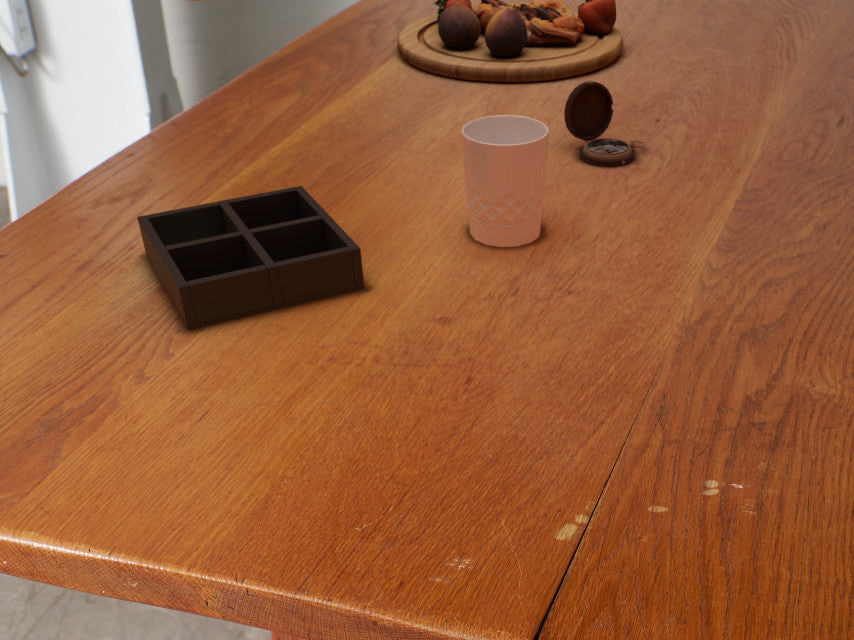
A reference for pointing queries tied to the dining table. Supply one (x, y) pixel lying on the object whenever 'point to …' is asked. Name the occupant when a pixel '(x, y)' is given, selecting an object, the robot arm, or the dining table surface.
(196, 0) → the supplement bottle
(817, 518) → the dining table surface
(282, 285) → the holder
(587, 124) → the compass
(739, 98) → the dining table surface
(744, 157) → the dining table surface
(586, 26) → the wooden plate
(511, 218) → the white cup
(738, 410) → the dining table surface
